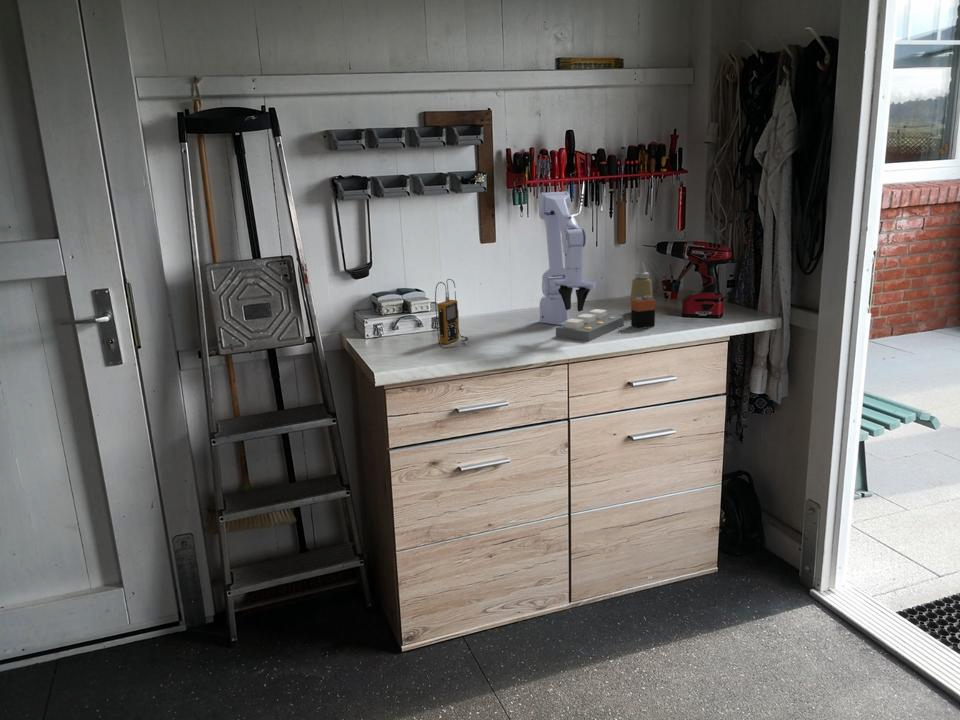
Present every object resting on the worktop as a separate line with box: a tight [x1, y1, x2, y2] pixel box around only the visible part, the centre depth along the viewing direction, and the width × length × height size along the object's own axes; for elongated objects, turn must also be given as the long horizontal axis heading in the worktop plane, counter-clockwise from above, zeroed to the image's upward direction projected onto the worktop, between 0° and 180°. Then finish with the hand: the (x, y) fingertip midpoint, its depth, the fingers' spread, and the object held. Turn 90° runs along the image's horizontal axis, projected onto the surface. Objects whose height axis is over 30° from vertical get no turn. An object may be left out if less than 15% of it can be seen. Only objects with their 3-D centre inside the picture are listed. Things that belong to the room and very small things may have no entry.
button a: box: [565, 318, 584, 329], centre depth 250 cm, size 4×4×3 cm
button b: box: [576, 313, 596, 324], centre depth 256 cm, size 4×4×3 cm
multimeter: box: [434, 278, 469, 349], centre depth 245 cm, size 15×10×20 cm
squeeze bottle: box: [629, 261, 654, 305], centre depth 276 cm, size 8×8×18 cm
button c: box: [588, 308, 608, 319], centre depth 262 cm, size 4×4×3 cm
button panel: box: [555, 314, 625, 342], centre depth 256 cm, size 12×24×3 cm, turn 144°
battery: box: [630, 296, 656, 329], centre depth 259 cm, size 4×7×10 cm, turn 108°
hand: (574, 310), depth 248 cm, fingers open, 4 cm apart
